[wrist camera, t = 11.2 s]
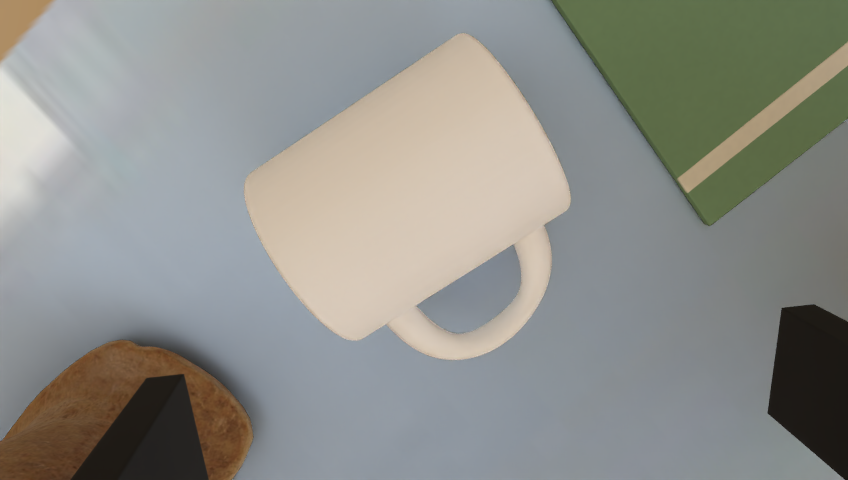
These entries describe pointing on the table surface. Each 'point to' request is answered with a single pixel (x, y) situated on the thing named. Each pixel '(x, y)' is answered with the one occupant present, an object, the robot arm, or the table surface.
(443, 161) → the mug
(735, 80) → the cloth
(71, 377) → the stone cup
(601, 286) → the table surface
